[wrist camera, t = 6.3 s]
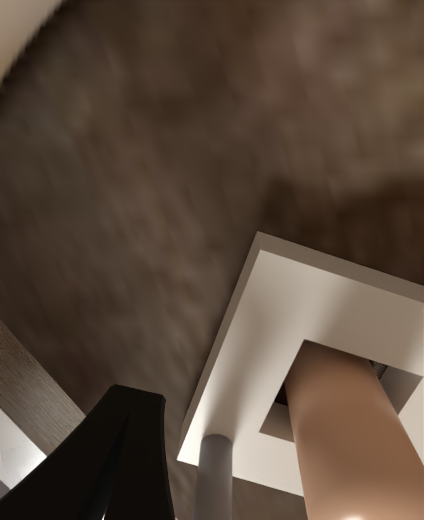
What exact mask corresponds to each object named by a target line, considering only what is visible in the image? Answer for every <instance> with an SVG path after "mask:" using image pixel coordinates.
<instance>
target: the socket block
mask: <svg viewBox="0 0 424 520" xmlns="http://www.w3.org/2000/svg"><path fill="white" fill-rule="evenodd" d="M304 339H306V340H310V341H313V342H316V343H319V344H322V345H325V346H329V347H332V348H335V349H338V350H341V351H344V352H348V353H351V354H354V355H357V356H360V357H363V358H367V359H370V360H373V361H376V362H379V363H382V364H386V365H388V367H387V368H386V370H385V372H384V373H383V375H382V377H381V378H380V380H379V381H380V383H381V385H382V387H383V388H384V390H385V392H386V394H387V396H388V398H389V400H390V402H391V404H392V406H393V408H394V409H395V411H396V413H397V415H398V417H399V419H400V421H401V423H402V425H403V427H404V429H405V430H406V432H407V434H408V436H409V438H410V440H411V442H412V444H413V446H414V448H415V450H416V451H417V453H418V455H419V457H420V459H421V461H422V463H423V465H424V286H422V285H419V284H416V283H413V282H410V281H407V280H404V279H401V278H398V277H395V276H392V275H389V274H386V273H383V272H380V271H377V270H374V269H371V268H368V267H365V266H362V265H359V264H356V263H353V262H350V261H347V260H344V259H341V258H338V257H335V256H332V255H329V254H326V253H323V252H320V251H317V250H314V249H311V248H308V247H305V246H302V245H299V244H296V243H293V242H290V241H287V240H284V239H281V238H278V237H275V236H272V235H268V234H265V233H262V232H259V231H257V233H256V235H255V238H254V241H253V243H252V246H251V248H250V251H249V253H248V256H247V259H246V261H245V264H244V266H243V269H242V272H241V274H240V277H239V279H238V282H237V284H236V287H235V290H234V292H233V295H232V297H231V300H230V303H229V305H228V308H227V310H226V313H225V315H224V318H223V321H222V323H221V326H220V328H219V331H218V333H217V336H216V339H215V341H214V344H213V346H212V349H211V352H210V354H209V357H208V359H207V362H206V364H205V367H204V370H203V372H202V375H201V377H200V380H199V383H198V385H197V388H196V390H195V393H194V395H193V398H192V401H191V403H190V406H189V408H188V411H187V414H186V416H185V419H184V421H183V425H182V431H181V437H180V443H179V449H178V455H177V460H179V461H182V462H186V463H189V464H193V465H196V466H198V472H197V481H196V491H195V500H194V510H193V519H192V520H232V476H234V477H238V478H241V479H245V480H248V481H252V482H255V483H259V484H262V485H266V486H269V487H272V488H276V489H279V490H283V491H286V492H290V493H293V494H297V495H300V496H304V493H303V488H302V482H301V476H300V470H299V465H298V459H297V453H296V447H295V442H294V436H293V430H292V425H291V419H290V413H289V407H288V406H286V405H283V404H279V403H276V402H273V401H274V399H275V397H276V395H277V393H278V391H279V389H280V387H281V385H282V383H283V381H284V379H285V377H286V375H287V373H288V371H289V369H290V367H291V365H292V363H293V361H294V359H295V357H296V355H297V353H298V351H299V349H300V346H301V344H302V342H303V340H304Z"/></svg>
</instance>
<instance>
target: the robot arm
mask: <svg viewBox="0 0 424 520" xmlns="http://www.w3.org/2000/svg"><path fill="white" fill-rule="evenodd" d="M165 402H166V399H165V398H164V396H163V395H161V394H156V393H152V392H148V391H143V390H139V389H135V388H130V387H126V386H121V385H117V384H115V385H113V386H111V387H110V388H109V389H108V391H107V392H106V393H105V395H104V396H103V397H102V398H101V400H100V401H99V402H98V403H97V405H96V406H95V407H94V408H93V409H92V410H91V412H90V413H89V414H88V415H87V416H86V417H85V418H84V419H83V421H82V422H81V423H80V424H79V425H78V426H77V427H76V428H75V429H74V430H73V431H72V432H71V433H70V434H69V435H68V436H67V437H66V438H65V439H64V441H63V442H62V443H61V444H60V445H59V446H58V447H57V448H56V449H55V450H54V451H53V452H52V453H50V454H49V455H48V456H47V457H46V458H45V459H44V460H43V461H42V462H41V463H40V464H39V465H38V466H37V467H35V468H34V469H33V470H32V471H31V472H30V473H29V474H28V475H27V476H26V477H25V478H24V479H23V480H21V481H20V482H19V483H18V484H17V485H16V486H15V487H13V488H12V489H10V488H9V487H8V486H7V485H5V484H4V483H3V482H2V481H1V480H0V520H175V515H174V509H173V504H172V498H171V492H170V486H169V479H168V471H167V462H166V453H165V440H164V410H165ZM104 515H105V516H104ZM103 518H104V519H103Z"/></svg>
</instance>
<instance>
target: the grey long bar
mask: <svg viewBox="0 0 424 520" xmlns="http://www.w3.org/2000/svg"><path fill="white" fill-rule="evenodd" d="M85 417H86V416H85V414H84V413H83V412H82V411H81V410H80V409H79V408H78V407H77V405H76V404H75V403H74V402H73V401H72V400H71V399H70V398H69V396H68V395H67V394H66V393H65V392H64V391H63V390H62V389H61V387H60V386H59V385H58V384H57V383H56V382H55V381H54V380H53V378H52V377H51V376H50V375H49V374H48V373H47V372H46V371H45V369H44V368H43V367H42V366H41V365H40V364H39V363H38V362H37V360H36V359H35V358H34V357H33V356H32V355H31V354H30V353H29V351H28V350H27V349H26V348H25V347H24V346H23V345H22V344H21V343H20V341H19V340H18V339H17V338H16V337H15V336H14V335H13V334H12V332H11V331H10V330H9V329H8V328H7V327H6V326H5V325H4V323H3V322H2V321H1V320H0V480H1V481H2V482H3V483H4V484H5V485H7V486H8V487H9V488H10V489H12V488H13V487H15V486H16V485H17V484H18V483H19V482H20V481H21V480H23V479H24V478H25V477H26V476H27V475H28V474H29V473H30V472H31V471H32V470H33V469H34V468H35V467H37V466H38V465H39V464H40V463H41V462H42V461H43V460H44V459H45V458H46V457H47V456H48V455H49V454H50V453H52V452H53V451H54V450H55V449H56V448H57V447H58V446H59V445H60V444H61V443H62V442H63V441H64V439H65V438H66V437H67V436H68V435H69V434H70V433H71V432H72V431H73V430H74V429H75V428H76V427H77V426H78V425H79V424H80V423H81V422H82V421H83V419H84V418H85ZM104 516H105V515H104ZM103 519H104V518H103ZM175 520H178V519H177V518H176V517H175Z"/></svg>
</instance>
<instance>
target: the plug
mask: <svg viewBox="0 0 424 520" xmlns="http://www.w3.org/2000/svg"><path fill="white" fill-rule="evenodd" d="M284 384H285V390H286V396H287V402H288V407H289V413H290V419H291V425H292V430H293V436H294V442H295V447H296V453H297V459H298V465H299V470H300V476H301V482H302V488H303V493H304V499H305V505H306V511H307V516H308V520H424V465H423V463H422V461H421V459H420V457H419V455H418V453H417V451H416V450H415V448H414V446H413V444H412V442H411V440H410V438H409V436H408V434H407V432H406V430H405V429H404V427H403V425H402V423H401V421H400V419H399V417H398V415H397V413H396V411H395V409H394V408H393V406H392V404H391V402H390V400H389V398H388V396H387V394H386V392H385V390H384V388H383V387H382V385H381V383H380V381H379V379H378V377H377V375H376V373H375V371H374V369H373V367H372V366H371V364H370V362H369V360H368V359H367V358H363V357H360V356H357V355H354V354H351V353H348V352H344V351H341V350H338V349H335V348H332V347H329V346H325V345H322V344H319V343H316V342H313V341H310V340H304V341H303V342H302V344H301V346H300V349H299V351H298V353H297V355H296V357H295V359H294V361H293V363H292V365H291V367H290V369H289V371H288V373H287V375H286V377H285V379H284Z"/></svg>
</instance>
